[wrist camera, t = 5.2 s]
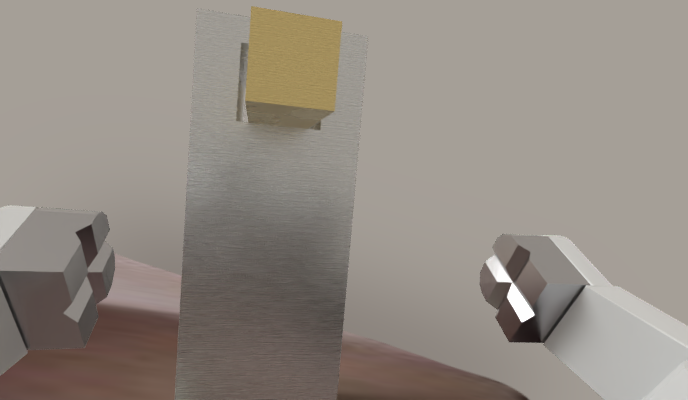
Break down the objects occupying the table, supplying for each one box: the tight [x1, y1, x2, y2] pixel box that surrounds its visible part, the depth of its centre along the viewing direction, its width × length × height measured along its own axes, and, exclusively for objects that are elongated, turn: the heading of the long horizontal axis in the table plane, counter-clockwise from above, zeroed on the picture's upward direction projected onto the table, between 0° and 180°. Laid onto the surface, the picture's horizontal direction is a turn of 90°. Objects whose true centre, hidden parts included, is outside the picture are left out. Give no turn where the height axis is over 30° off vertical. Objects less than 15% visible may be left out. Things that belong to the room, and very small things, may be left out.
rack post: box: [175, 9, 368, 400], centre depth 32 cm, size 16×11×31 cm
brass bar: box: [245, 6, 342, 129], centre depth 25 cm, size 19×4×4 cm, turn 12°
